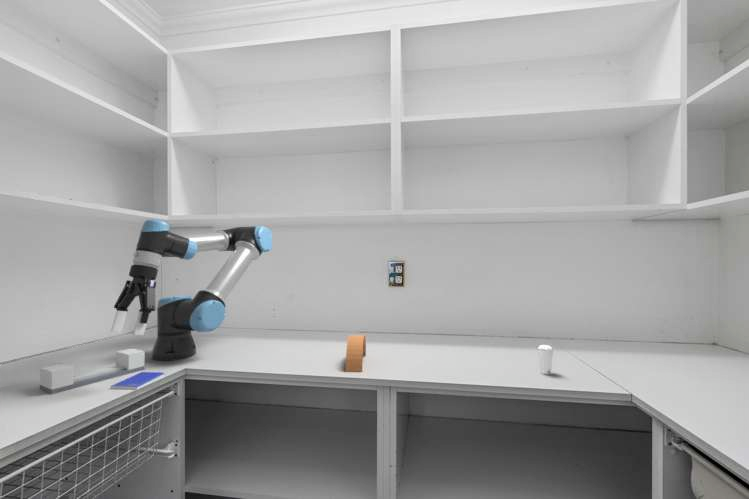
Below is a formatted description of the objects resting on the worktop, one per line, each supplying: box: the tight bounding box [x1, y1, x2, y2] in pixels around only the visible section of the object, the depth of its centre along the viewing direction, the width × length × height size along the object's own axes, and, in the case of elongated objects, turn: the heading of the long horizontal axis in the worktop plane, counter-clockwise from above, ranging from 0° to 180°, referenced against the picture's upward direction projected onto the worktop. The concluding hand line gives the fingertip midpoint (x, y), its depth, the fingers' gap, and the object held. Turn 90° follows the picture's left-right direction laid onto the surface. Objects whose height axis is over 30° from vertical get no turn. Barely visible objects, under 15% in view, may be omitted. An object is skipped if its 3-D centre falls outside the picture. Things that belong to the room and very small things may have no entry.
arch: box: [345, 334, 367, 373], centre depth 130 cm, size 6×20×10 cm, turn 177°
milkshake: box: [537, 344, 555, 376], centre depth 118 cm, size 5×5×10 cm
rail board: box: [39, 348, 146, 395], centre depth 114 cm, size 25×8×6 cm, turn 151°
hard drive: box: [110, 371, 165, 390], centre depth 111 cm, size 2×8×12 cm
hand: (127, 333), depth 111 cm, fingers open, 13 cm apart
